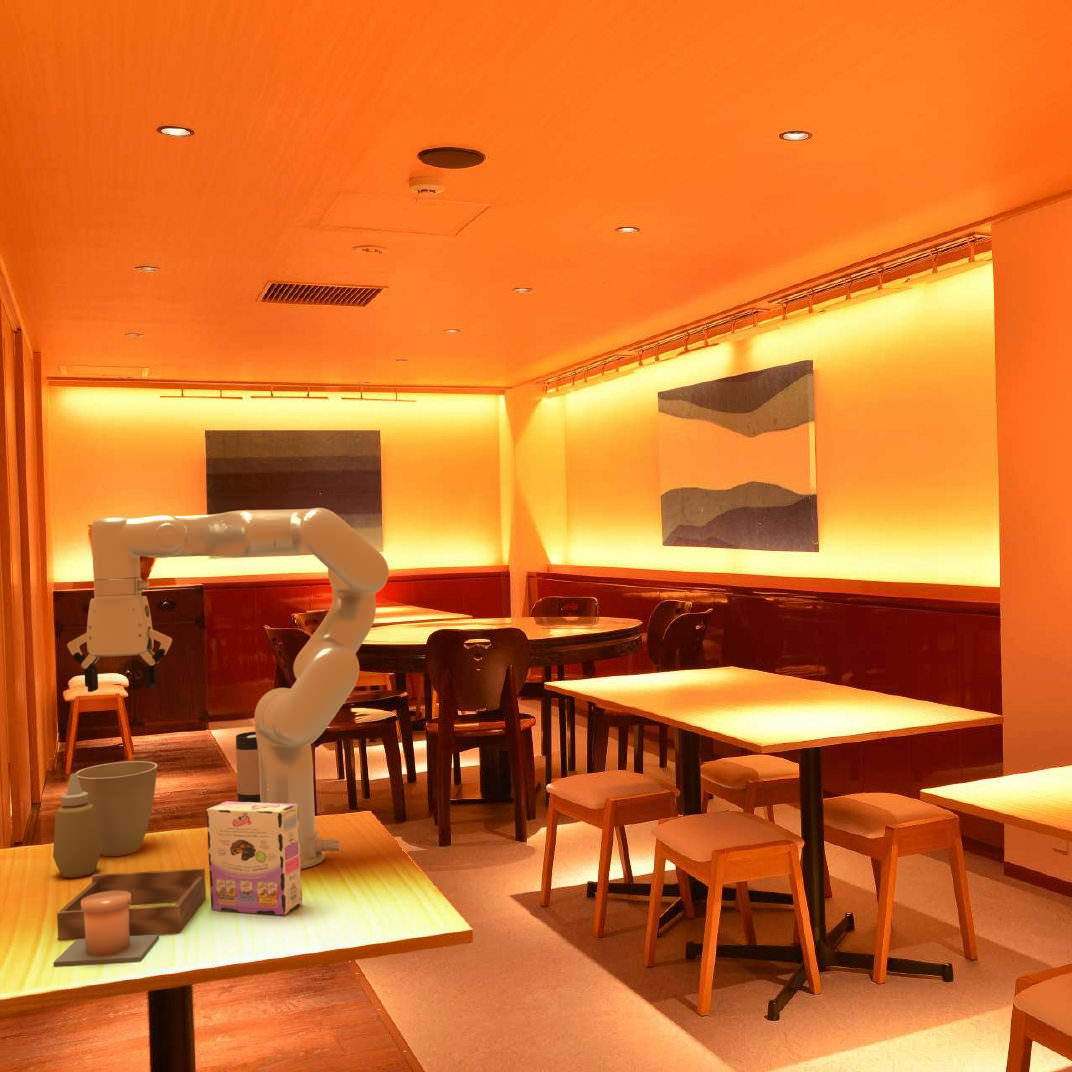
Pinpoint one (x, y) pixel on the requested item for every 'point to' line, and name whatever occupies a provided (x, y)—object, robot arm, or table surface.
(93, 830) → the squeeze bottle
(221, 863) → the candy box
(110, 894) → the terracotta pot
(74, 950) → the mat
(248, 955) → the table surface
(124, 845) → the plant pot
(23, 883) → the table surface
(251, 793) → the travel mug
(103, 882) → the frame
